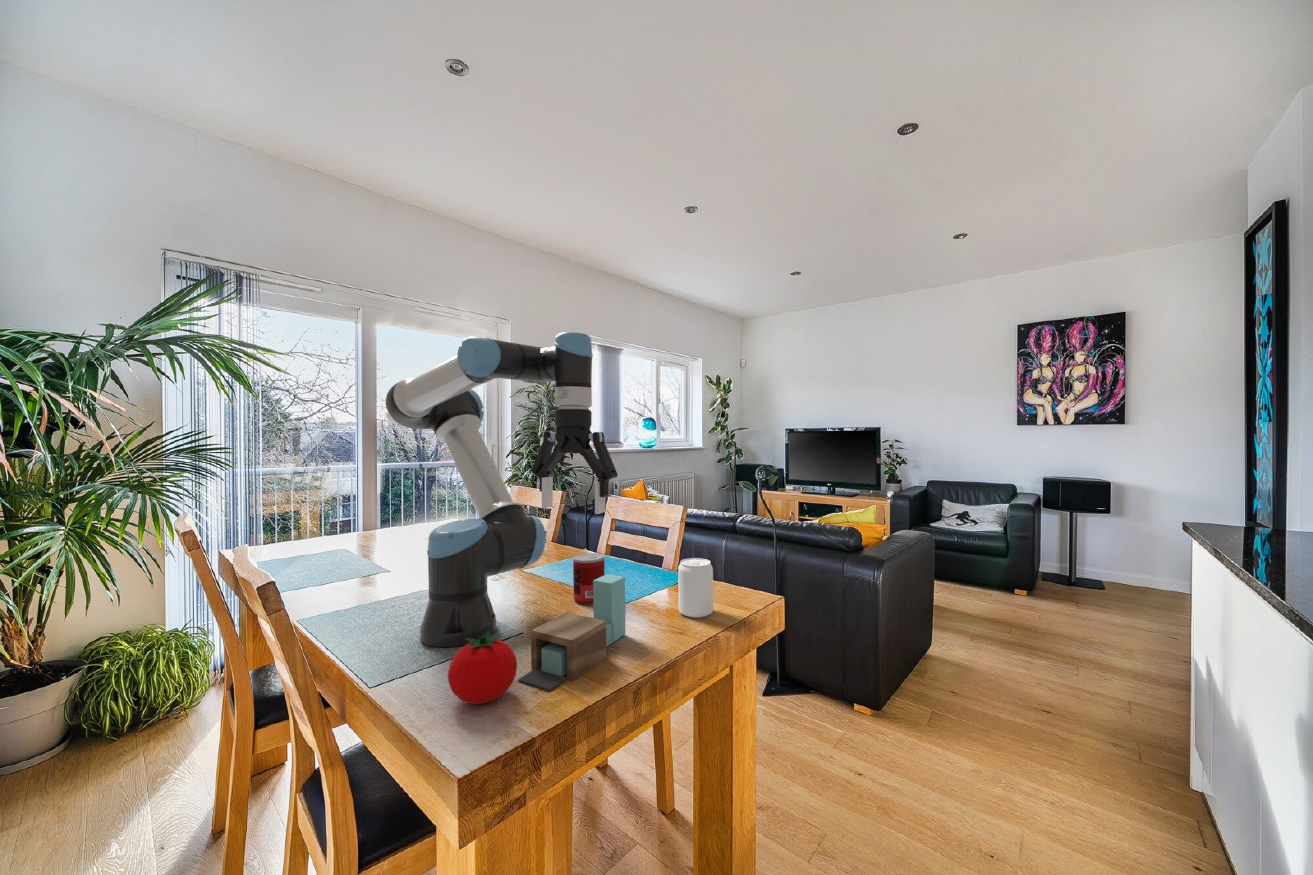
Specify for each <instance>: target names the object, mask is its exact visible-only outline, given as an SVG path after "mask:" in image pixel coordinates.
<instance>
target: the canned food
mask: <svg viewBox="0 0 1313 875" xmlns="http://www.w3.org/2000/svg"><path fill="white" fill-rule="evenodd" d="M572 559H573V560H572V561H573V562H572V567H573V568H572V572H573V573H572V574H573V578H572V579H573V581H572V582H573V599H574V602H575V603H577V604H579V605H593V580H595V579H598V578H600V577H602V576H604V575H606V574H605V573H606V572H605V570H606V568H605V556H604V554H602V553H597V552H588V553H580V554H577V555H574V556H573V558H572Z"/></svg>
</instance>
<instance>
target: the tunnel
mask: <svg viewBox="0 0 1313 875" xmlns="http://www.w3.org/2000/svg"><path fill="white" fill-rule="evenodd" d="M552 642H553V643H557V644H561V645H565V646H567V673H566V678H567V680H568V681H571V682H574V681H575V680H577V679H578V678H579V677H581V676H582V675H584V674H585V673H587V672H588V671H590V670H591V669H592V668H594V667H595V666H597V665H599V664H600V663H601V662H602V661H604V660H605V659H607V647H606V621H605V620H600V619H596V618H594V617H591V616H586V615H582V614H576V613H571V612H564V613H563V614H561V615H558V616H557V617H555V618H553V619H551V620H548V621H547V622H545V623H542V624H541V625H539V626H537V627H534V628H533V629H531V630H530V648H531V649H530V652H531V653H530V654H531V656H530V657H531V658H530V659H531V662H530V663H531V664H530V666H531V670H532V671H533V670H534V669H535V670H538V671H539V670H540V669H542V648H543V647H545V646H547V645H549V644H550V643H552Z"/></svg>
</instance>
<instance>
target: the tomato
mask: <svg viewBox="0 0 1313 875" xmlns="http://www.w3.org/2000/svg"><path fill="white" fill-rule="evenodd" d="M503 636H505V635H499V636H496V637H493V638H491V635H490V631H488V632H487V633H486V634H485V635H484V636H480V640H476V639H470V638H465V639H466V640H467V641H469V642H471V643H469V644H466V645H463V647H462V648H460V649H459V650H458V652H456V653H455V655H454V657H453V658H452V660H451V663H450V665H449V667H448V672H447V681H448V684H449V688H450V690H451V692H452V693H453V695H454V696H456V698H458V699H459V700H460V701H463V702H465V703H468V704H471V705H473V704H474V705H481V704H486V703H490V702H493V701H494V700H497V699H498V698H500V697H501V696H503V694H505V693H506V692H507V691H508V689H509V688H510V687H511V686H512V684H513V683H514V680H515V678H516V674H517V669H518V667H517V664H518V661H517V657H516V654H515V652H514V651H513V649H512V648H511V647H510V645H508V643H507V642H505V641H504V640H501V639H500V638H502V637H503Z"/></svg>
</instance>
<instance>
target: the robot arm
mask: <svg viewBox="0 0 1313 875" xmlns="http://www.w3.org/2000/svg"><path fill="white" fill-rule="evenodd" d="M554 340H555V341H554V345H552V346H533V345H529V344H528V345H527V344H523V343H517V342H509V341H505V340H498V339H495V338H490V337H485V336H467V337H466V338H464V339H463V340H462V342H461V344H460V345H459V347H458V349H457V355H455V356H453V357H451V358H449V359H448V360H446V361H444V362H442V363H440V364H438V365H437V366H435V367H433V368H431V369H429V370H428V371H426V372H424V373H422V374H421V375H418V376H417V377H408V378H407V377H406V378H404V379H401V380H400V381H398V382H397V383H395V384H394V385H392V386H391V388H390V389H389V390H388V392H387V393H386V395H385V396H386V397H385V408H386V411H387V413H388V415H389V416H390V418H392V420H393V421H395V422H396V423H398V424H399V425H401V426H402V427H405V428H408V429H413V430H433V432H434V434H435V435H434V436H435V437H436V439H437V440H438V441H439V442H441V443H444V444H446V446H447V448H448V450H449V453H450V455H451V458H452V460H453V462H454V464H455V466H456V468H457V471H458V473H459V476H460V478H461V480H462V482H463V484H464V486H465V489H466V491H467V493H468V496H469V498H470V500H471V503H472V505H473V507H474V509H475V512H476V514H477V517H478V518H467V519H459V520H455V521H450V522H446V523H445V524H441V525H439V526H437V527H436V528H434V529H433V530H432V531H431V532H430V533H429V536H428V543H427V551H426V554H427V563H428V565H427V567H428V568H427V570H428V573H427V574H428V602H427V605H426V608H425V612H424V614H423V615H424V616H423V619H422V623H421V624H420V628H419V635H420V636H419V639H420V642H421V643H422V644H424V645H427V646H429V647H436V648H448V647H449V648H451V647H458V646H459V647H460V646H465V645H467V644H469V643H471V642H469V641H467V640H466V639H465V638H470V639H476V640H480V636H484V635H485V634H486V633H487V632H488V631H490V636H491V635H492V634H494V632H495V631H496V630H497V616H496V613H495V611H494V608H493V605H492V602H491V599H490V596H489V593H488V577H491V576H495V575H499V574H504V573H507V572H511V571H514V570H519V569H520V570H521V569H524V568H526V567H528V566H531V565H533V564H535V563H536V562H538V561H539V560H540V558H541V557H542V556H543V553H544V551H545V548H546V546H545V545H546V542H547V541H546V540H547V539H546V538H547V537H546V530H545V526H544V524H543V522H542V520H541V519H540V518H539V517H537V516H534V515H527V513H526V511H525V509H524V506H523V505H522V504H520V503H519V502H518V503H517V502H515V501H513V499H512V496H511V495H510V493H509V490H508V488H507V486H506V485H505V482H504V481H503V478H502V476H501V474H500V472H499V470H498V468H497V466H496V464H495V461H494V460H493V456H492V455H491V453H490V451H489V449H488V446H487V445H486V443H485V441H484V439H483V437H482V435H481V432H480V429H481V427H482V422H483V421H484V420H483V419H484V414H485V413H484V411H483V408H484V406H483V400H482V399H481V396H480V395H479V394H478V393H477V392H476V391H475V390H474V388H477V387H479V386H480V385H483V384H486V383H488V382H490V381H492V380H494V379H506V380H514V381H515V380H516V381H522V382H524V383H528V384H529V383H530V384H541V383H549V382H555V384H554V387H555V389H554V392H555V393H554V394H555V395H554V397H555V401H554V406H556V407H557V409H555V410H554V426H555V427H556V431H554V430H551V431H550V430H548V431H547V430H546V431H544V432H543V435H542V436H543V438H542V443H541V445H540V448H539V451H538V453H537V455H536V459H535V461H534V463H533V466H532V468H531V473H532V474H533V475H534V474H535V475H536V476H538V478H539V492H541V509H548V508H552V507H554V506H553V500H554V499H553V496H554V493H553V492H554V491H553V489H554V488H553V486H554V485H553V484H554V482H553V481H554V480H553V479H554V478H553V477H554V476H552V472H553V471H554V469H555V468H556V466H557V465H558V464H559V462H560V461H561V459H562V458H563V456H565V455H566V454H579V455H580V456H582V457H583V459H584V460H585V462H586V463H587V465H588V466H589V467H590V469H591V471H592V473H593V474H594V476H596V478H597V480H596V481H594V514H595V515H600V514H603V513H606V498H607V497H608V496H609V495H610V494H609V491H610V490H609V486H610V480H613V479H615V478H617V477H618V472H617V469H616V467H615V465H614V462H613V459H612V457H611V455H610V452H609V450H608V448H607V445H606V442H605V441H606V440H605V433H604V432H603V431H594V432H593V433H592V432H591V427H592V423H593V422H592V418H593V417H592V410H591V409H589V408H592V406H593V404H592V403H593V401H592V399H593V397H592V396H593V394H592V391H593V390H592V389H593V387H592V380H593V379H592V377H593V376H592V374H593V373H592V371H593V370H592V368H593V367H592V365H593V354H594V353H593V346H592V338H591V337H590V336H589V335H588V334H586V333H581V332H575V331H574V332H571V331H570V332H569V331H567V332H566V331H565V332H560V333H558V334H556V335H555V338H554ZM555 442H557V443H556V444H555ZM591 442H592V444H593V447H592V446H591V444H590V443H591ZM554 445H555V446H554ZM593 448H594V449H593ZM594 450H595V452H596V454H595V453H594Z"/></svg>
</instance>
